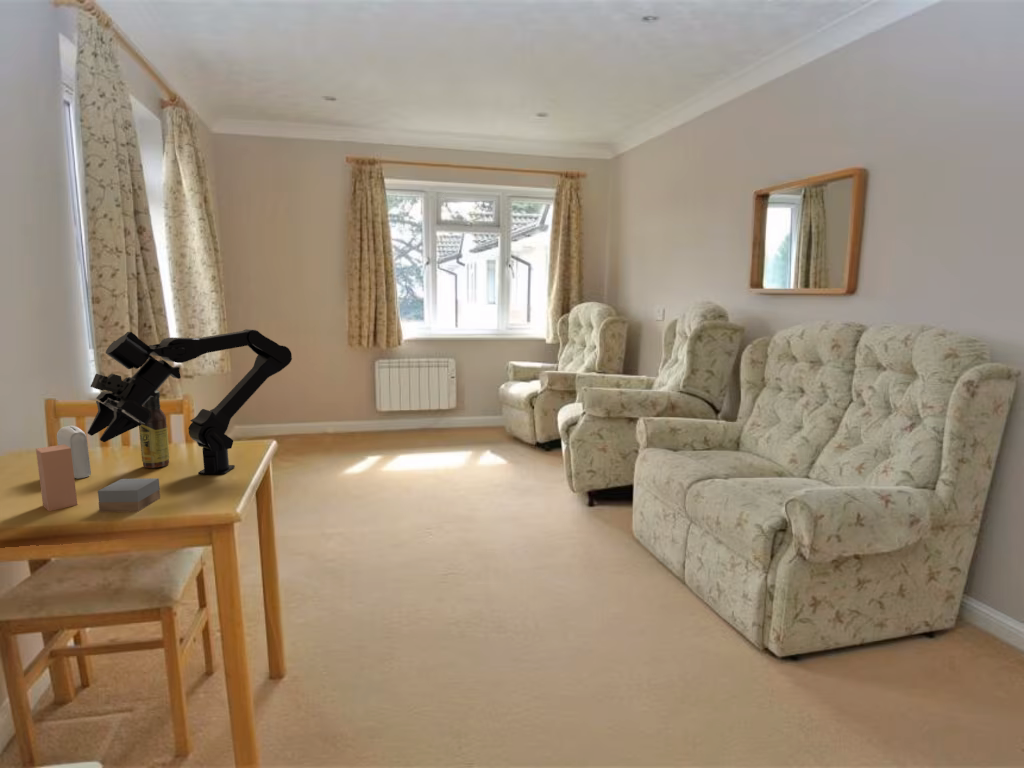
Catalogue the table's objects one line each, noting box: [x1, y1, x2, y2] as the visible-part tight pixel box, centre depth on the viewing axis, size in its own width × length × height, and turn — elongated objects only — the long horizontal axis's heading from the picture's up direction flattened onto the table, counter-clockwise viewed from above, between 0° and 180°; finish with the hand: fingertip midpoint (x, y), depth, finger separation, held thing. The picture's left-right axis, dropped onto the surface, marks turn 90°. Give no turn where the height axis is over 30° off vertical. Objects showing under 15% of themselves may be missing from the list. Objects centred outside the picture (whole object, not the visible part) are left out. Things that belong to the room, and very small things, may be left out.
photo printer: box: [56, 425, 92, 479], centre depth 148 cm, size 10×4×12 cm, turn 53°
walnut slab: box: [98, 488, 161, 513], centre depth 127 cm, size 8×8×2 cm
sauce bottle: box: [138, 390, 170, 469], centre depth 154 cm, size 7×6×20 cm
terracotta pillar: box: [35, 444, 78, 512], centre depth 126 cm, size 5×5×12 cm
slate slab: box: [97, 477, 161, 503], centre depth 127 cm, size 8×8×2 cm
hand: (95, 437), depth 131 cm, fingers open, 9 cm apart
